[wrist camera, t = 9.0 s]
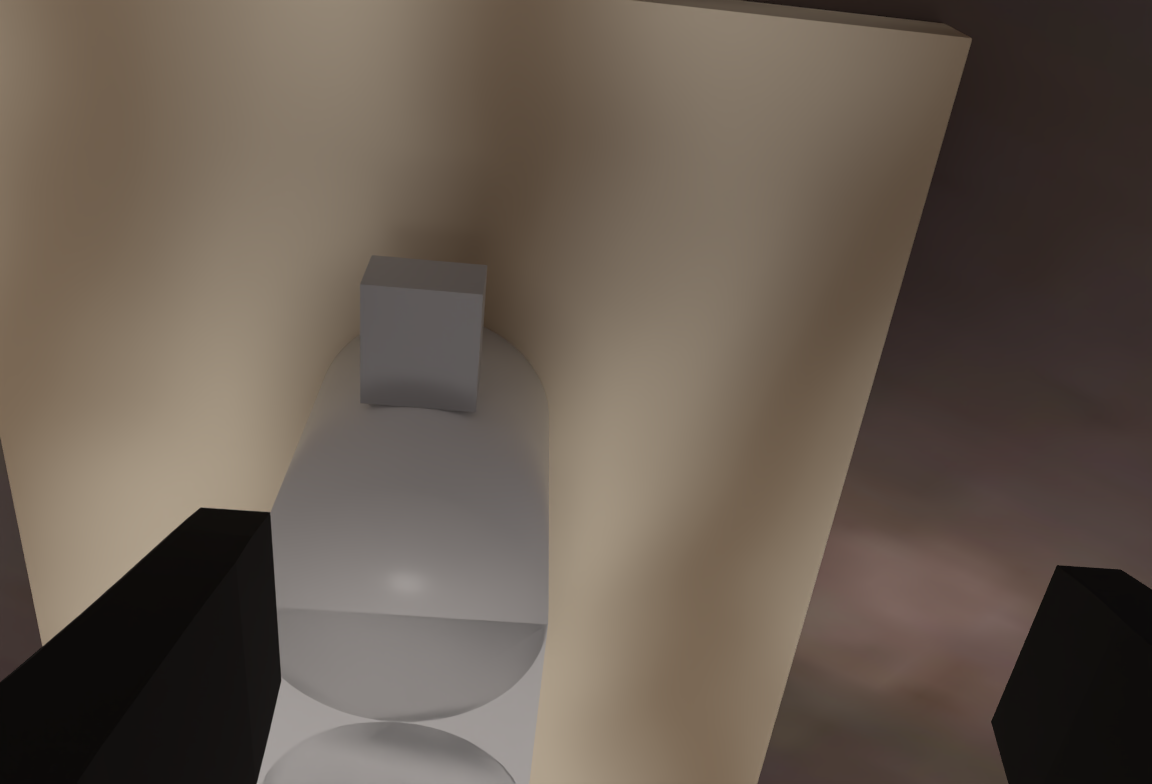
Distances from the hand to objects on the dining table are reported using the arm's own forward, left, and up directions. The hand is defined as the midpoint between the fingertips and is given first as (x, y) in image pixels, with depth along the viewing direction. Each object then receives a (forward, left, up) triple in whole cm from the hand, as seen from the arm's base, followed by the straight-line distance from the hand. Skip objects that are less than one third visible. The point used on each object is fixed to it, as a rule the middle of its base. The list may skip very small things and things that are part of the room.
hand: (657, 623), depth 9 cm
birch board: (+3, +5, -9) cm, 11 cm away
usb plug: (+3, +5, -8) cm, 10 cm away
